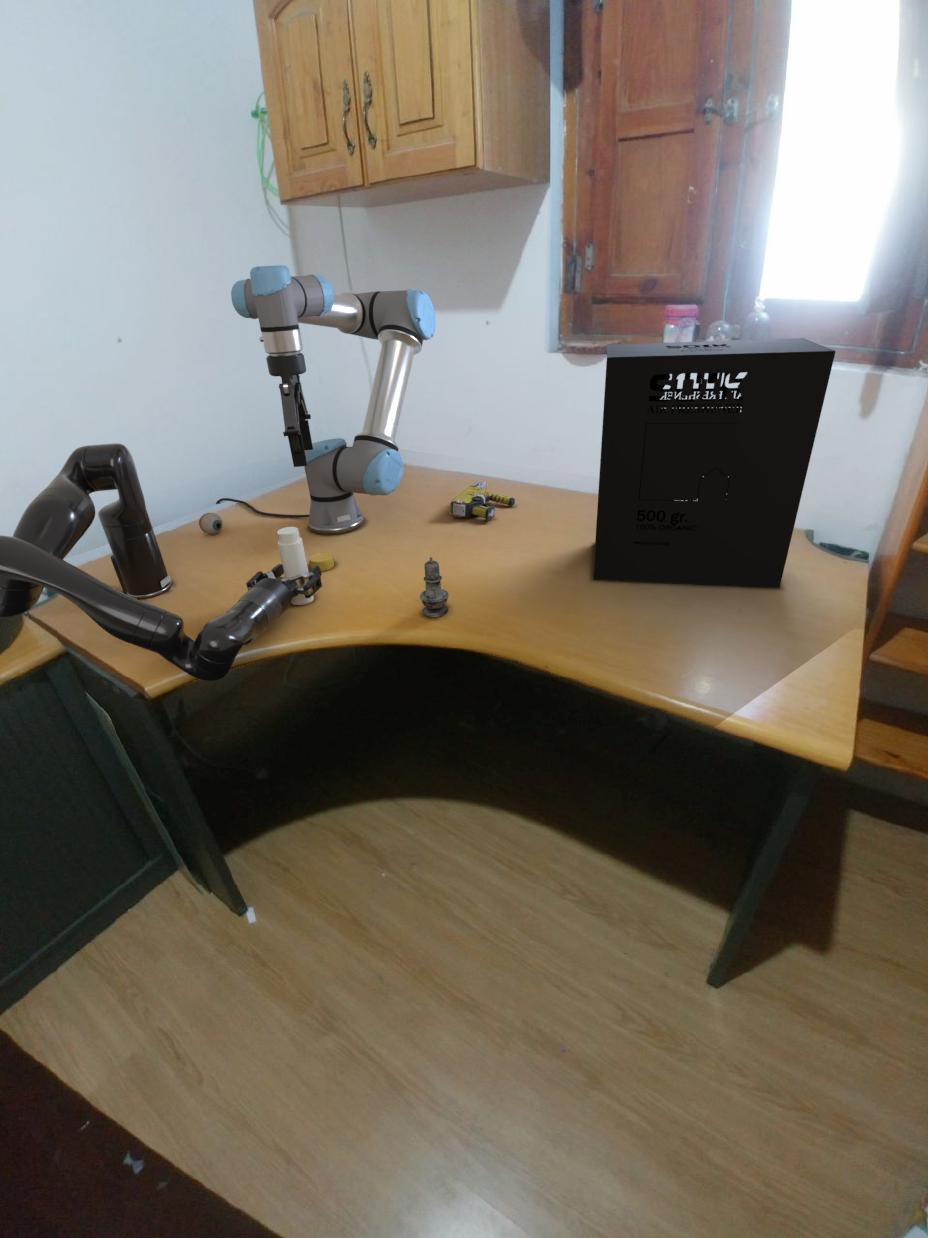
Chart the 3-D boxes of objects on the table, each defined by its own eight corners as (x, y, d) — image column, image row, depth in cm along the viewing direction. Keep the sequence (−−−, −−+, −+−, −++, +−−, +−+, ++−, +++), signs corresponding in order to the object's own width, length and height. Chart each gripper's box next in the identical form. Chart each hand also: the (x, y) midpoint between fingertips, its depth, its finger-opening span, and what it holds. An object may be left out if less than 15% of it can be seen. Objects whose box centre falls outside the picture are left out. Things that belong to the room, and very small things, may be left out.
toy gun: (523, 485, 181) (476, 478, 185) (501, 509, 161) (448, 500, 165) (521, 500, 184) (475, 493, 187) (499, 525, 163) (447, 517, 167)
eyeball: (212, 539, 164) (206, 518, 161) (197, 535, 167) (191, 515, 164) (230, 531, 169) (224, 511, 166) (215, 528, 172) (210, 508, 169)
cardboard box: (759, 548, 141) (803, 338, 119) (779, 587, 124) (835, 350, 102) (595, 543, 149) (607, 344, 126) (593, 579, 132) (607, 357, 109)
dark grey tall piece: (446, 618, 120) (442, 563, 114) (417, 616, 122) (412, 562, 116) (452, 604, 125) (448, 551, 119) (425, 602, 126) (420, 550, 120)
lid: (333, 570, 144) (331, 560, 142) (309, 572, 143) (307, 562, 142) (335, 560, 148) (334, 551, 147) (312, 562, 148) (310, 553, 147)
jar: (302, 592, 134) (288, 524, 126) (318, 597, 132) (304, 528, 124) (285, 602, 131) (270, 532, 123) (301, 607, 128) (286, 536, 120)
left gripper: (234, 619, 119) (273, 582, 133) (300, 624, 116) (333, 586, 130) (224, 585, 115) (266, 551, 129) (292, 589, 112) (328, 554, 126)
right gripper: (274, 348, 133) (293, 445, 144) (255, 362, 111) (278, 475, 122) (309, 345, 133) (325, 442, 144) (296, 359, 112) (316, 472, 123)
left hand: (300, 568), depth 129 cm, fingers open, 8 cm apart
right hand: (304, 457), depth 133 cm, fingers open, 13 cm apart
